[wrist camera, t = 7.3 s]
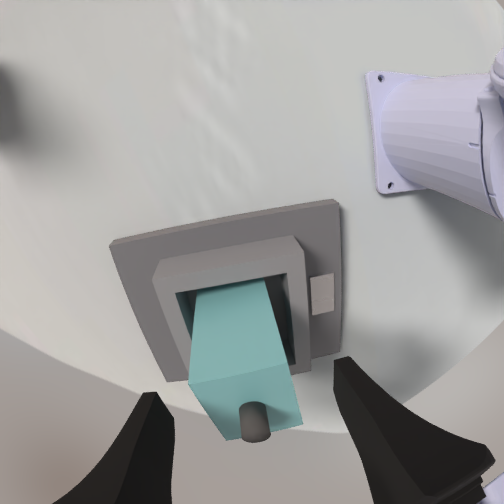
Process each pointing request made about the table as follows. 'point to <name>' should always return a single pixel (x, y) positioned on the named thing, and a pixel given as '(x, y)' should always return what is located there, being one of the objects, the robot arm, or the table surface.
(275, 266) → the socket block
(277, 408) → the plug
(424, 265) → the table surface
